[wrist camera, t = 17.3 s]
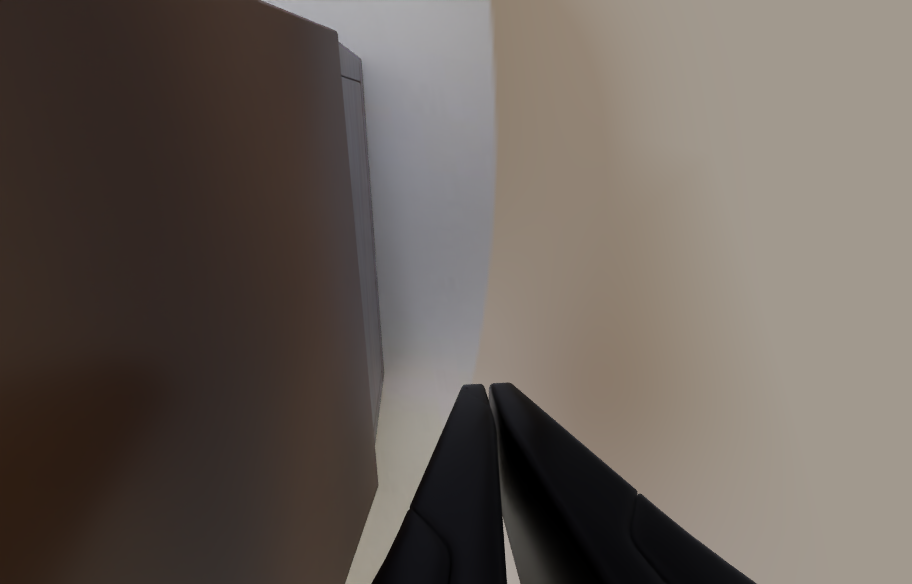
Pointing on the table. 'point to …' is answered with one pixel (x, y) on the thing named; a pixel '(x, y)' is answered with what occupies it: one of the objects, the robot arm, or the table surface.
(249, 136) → the case lid
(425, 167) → the table surface
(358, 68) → the case
